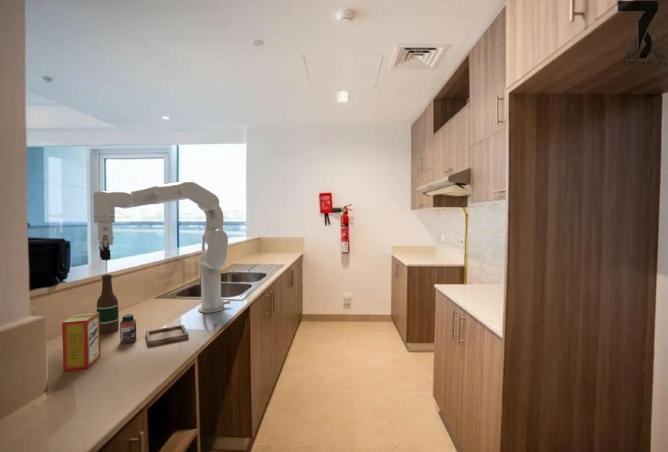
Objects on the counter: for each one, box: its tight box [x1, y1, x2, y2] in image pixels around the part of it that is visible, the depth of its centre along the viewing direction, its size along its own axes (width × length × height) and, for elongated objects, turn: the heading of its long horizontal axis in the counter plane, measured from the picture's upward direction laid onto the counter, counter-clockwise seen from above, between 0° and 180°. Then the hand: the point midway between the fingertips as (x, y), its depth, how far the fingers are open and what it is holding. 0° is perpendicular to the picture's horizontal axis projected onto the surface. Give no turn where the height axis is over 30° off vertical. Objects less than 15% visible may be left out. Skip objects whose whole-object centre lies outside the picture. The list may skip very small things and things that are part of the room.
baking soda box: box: [61, 311, 101, 372], centre depth 106 cm, size 10×6×16 cm
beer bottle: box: [96, 274, 120, 335], centre depth 136 cm, size 8×8×24 cm
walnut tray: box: [145, 324, 189, 348], centre depth 129 cm, size 14×13×2 cm
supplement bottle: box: [119, 313, 137, 344], centre depth 125 cm, size 5×5×10 cm
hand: (105, 258), depth 140 cm, fingers open, 9 cm apart
